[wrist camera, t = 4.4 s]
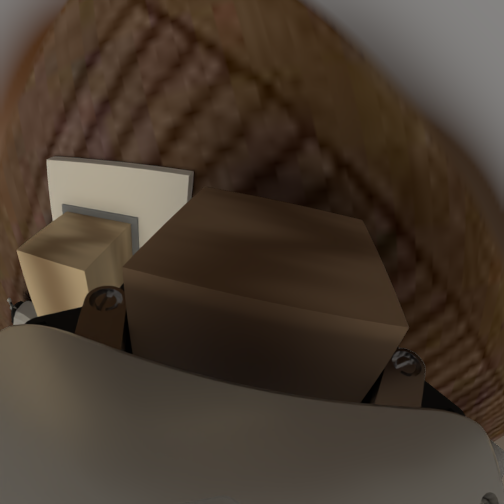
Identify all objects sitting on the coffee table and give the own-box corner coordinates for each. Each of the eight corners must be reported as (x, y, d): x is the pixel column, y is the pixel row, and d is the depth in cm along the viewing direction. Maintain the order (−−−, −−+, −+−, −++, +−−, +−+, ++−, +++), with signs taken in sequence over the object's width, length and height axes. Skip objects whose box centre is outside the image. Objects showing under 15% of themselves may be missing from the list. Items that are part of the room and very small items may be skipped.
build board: (193, 171, 19) (188, 176, 18) (185, 327, 26) (181, 337, 25) (54, 156, 19) (44, 160, 18) (74, 295, 26) (68, 302, 25)
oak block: (131, 223, 20) (84, 271, 15) (135, 290, 23) (101, 343, 18) (66, 211, 20) (16, 249, 15) (76, 274, 23) (38, 318, 18)
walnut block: (362, 220, 11) (409, 327, 6) (319, 337, 14) (319, 453, 8) (204, 186, 11) (122, 266, 6) (194, 311, 14) (145, 415, 9)
